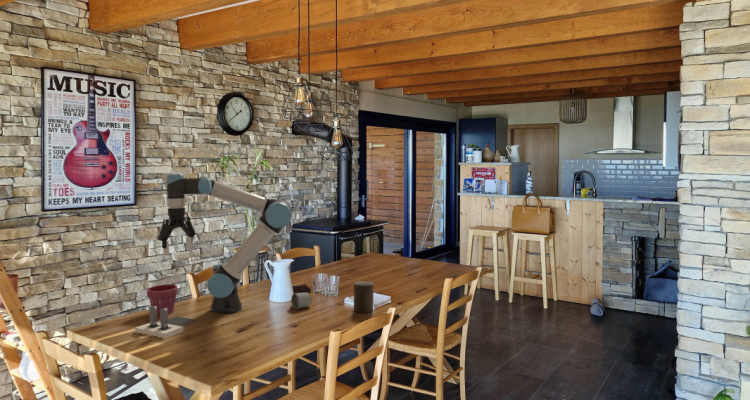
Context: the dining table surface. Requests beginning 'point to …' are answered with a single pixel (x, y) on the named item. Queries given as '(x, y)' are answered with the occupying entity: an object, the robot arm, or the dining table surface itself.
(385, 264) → the dining table surface
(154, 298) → the plant pot
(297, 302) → the grey cylinder
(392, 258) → the dining table surface
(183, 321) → the mat
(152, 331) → the hole board
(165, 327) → the peg
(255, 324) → the dining table surface
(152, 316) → the seated peg
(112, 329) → the dining table surface
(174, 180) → the robot arm
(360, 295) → the pillar candle
